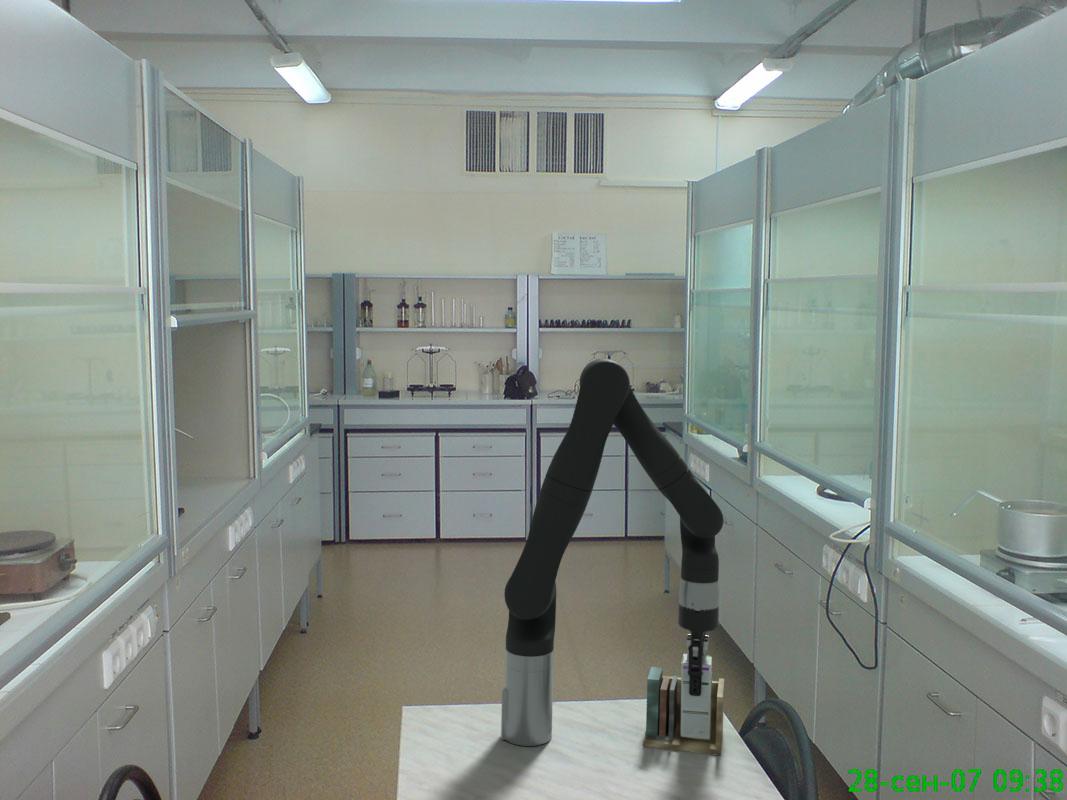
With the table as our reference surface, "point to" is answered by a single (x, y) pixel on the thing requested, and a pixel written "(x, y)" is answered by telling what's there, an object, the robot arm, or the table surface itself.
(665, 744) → the shelf
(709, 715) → the syrup box
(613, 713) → the table surface
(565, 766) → the table surface
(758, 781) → the table surface
